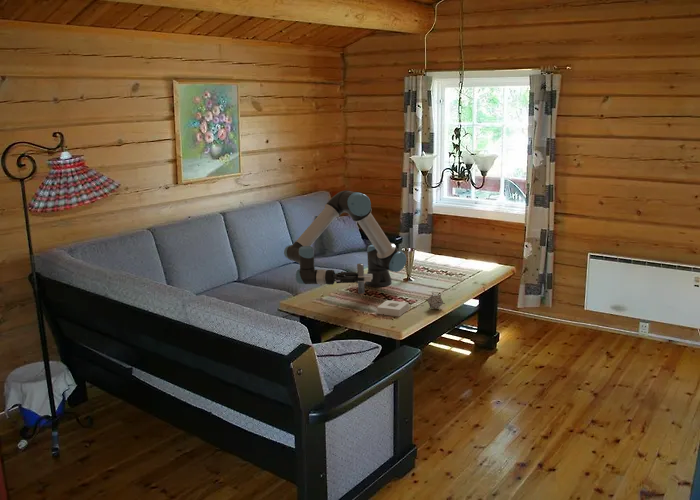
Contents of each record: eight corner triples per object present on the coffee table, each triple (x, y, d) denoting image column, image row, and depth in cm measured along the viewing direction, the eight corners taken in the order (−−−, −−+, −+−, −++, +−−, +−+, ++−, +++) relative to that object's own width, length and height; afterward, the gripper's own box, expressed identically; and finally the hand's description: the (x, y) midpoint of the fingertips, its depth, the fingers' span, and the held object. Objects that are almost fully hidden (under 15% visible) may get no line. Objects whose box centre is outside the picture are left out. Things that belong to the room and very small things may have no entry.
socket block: (387, 306, 351) (386, 300, 350) (408, 309, 346) (408, 302, 345) (377, 313, 340) (377, 307, 340) (399, 316, 335) (399, 309, 334)
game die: (439, 315, 346) (451, 300, 342) (429, 314, 339) (442, 299, 336) (428, 303, 351) (440, 289, 348) (419, 302, 344) (431, 287, 341)
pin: (360, 291, 346) (358, 263, 343) (365, 292, 345) (364, 263, 341) (357, 293, 344) (356, 264, 340) (362, 294, 342) (361, 265, 338)
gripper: (330, 279, 355) (374, 280, 350) (322, 288, 339) (369, 289, 334) (329, 265, 353) (374, 266, 348) (322, 274, 337) (368, 275, 333)
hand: (371, 277), depth 341 cm, fingers closed on pin, 3 cm apart
